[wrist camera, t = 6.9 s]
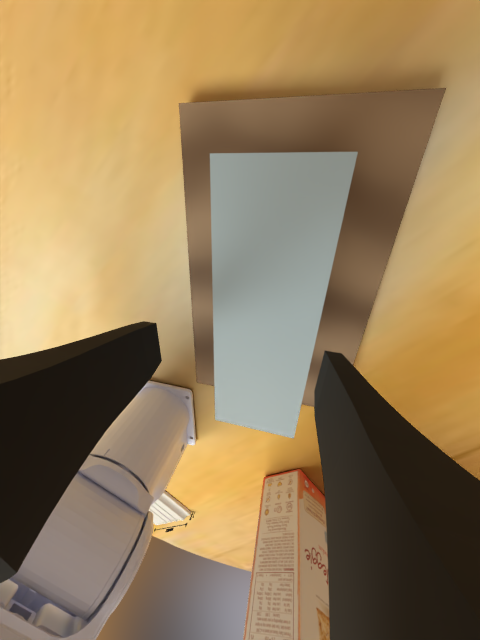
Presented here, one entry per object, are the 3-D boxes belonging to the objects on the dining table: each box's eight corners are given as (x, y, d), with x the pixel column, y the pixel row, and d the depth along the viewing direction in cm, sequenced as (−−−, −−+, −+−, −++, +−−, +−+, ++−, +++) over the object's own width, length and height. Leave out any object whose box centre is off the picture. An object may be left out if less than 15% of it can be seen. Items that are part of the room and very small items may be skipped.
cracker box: (361, 530, 29) (467, 1064, 11) (320, 533, 32) (349, 966, 14) (302, 465, 26) (310, 1037, 8) (262, 474, 29) (200, 920, 11)
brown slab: (335, 403, 21) (345, 452, 17) (200, 376, 24) (178, 412, 20) (434, 97, 11) (519, 25, 7) (186, 110, 14) (135, 63, 10)
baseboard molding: (55, 388, 33) (33, 415, 38) (34, 403, 30) (14, 429, 36) (198, 507, 38) (161, 515, 44) (191, 528, 36) (152, 534, 41)
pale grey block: (294, 401, 16) (293, 438, 13) (228, 387, 17) (215, 419, 14) (341, 168, 10) (357, 151, 7) (231, 168, 11) (210, 153, 8)
